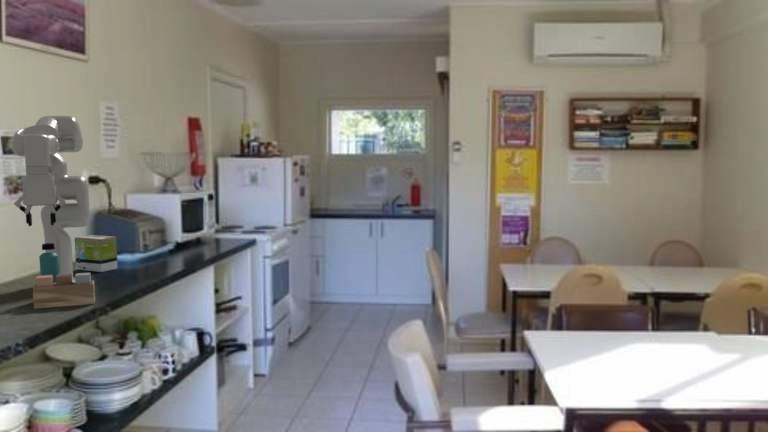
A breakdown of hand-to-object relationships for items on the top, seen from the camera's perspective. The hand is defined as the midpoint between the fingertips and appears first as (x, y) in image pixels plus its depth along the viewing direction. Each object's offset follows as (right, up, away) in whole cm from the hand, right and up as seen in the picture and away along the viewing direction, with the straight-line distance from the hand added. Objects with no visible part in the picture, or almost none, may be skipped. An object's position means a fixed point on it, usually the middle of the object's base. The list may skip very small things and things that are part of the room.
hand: (41, 224), depth 236 cm
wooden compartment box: (+6, -27, +5) cm, 28 cm away
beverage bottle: (-3, -27, +13) cm, 30 cm away
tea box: (-12, -21, +75) cm, 79 cm away
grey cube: (+12, -22, +6) cm, 26 cm away
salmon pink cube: (0, -22, +2) cm, 23 cm away
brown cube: (+6, -22, +4) cm, 23 cm away
